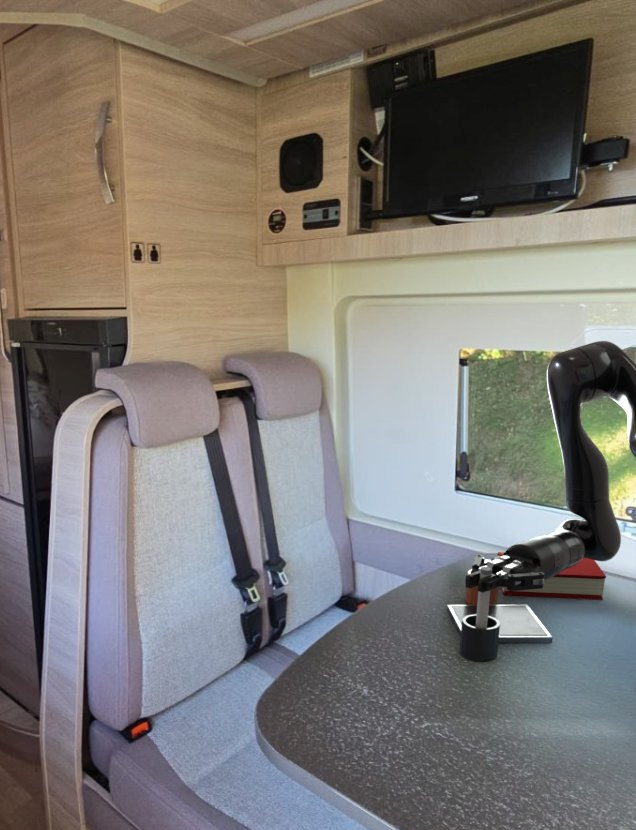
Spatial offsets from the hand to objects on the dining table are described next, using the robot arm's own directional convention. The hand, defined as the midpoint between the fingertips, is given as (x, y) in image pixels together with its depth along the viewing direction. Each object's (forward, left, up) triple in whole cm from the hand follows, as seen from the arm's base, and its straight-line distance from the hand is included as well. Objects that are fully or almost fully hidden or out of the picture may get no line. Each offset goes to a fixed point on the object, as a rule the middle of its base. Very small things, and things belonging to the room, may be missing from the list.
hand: (474, 584), depth 116 cm
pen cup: (-8, -24, -14) cm, 29 cm away
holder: (-2, -2, -14) cm, 14 cm away
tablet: (-8, -13, -14) cm, 21 cm away
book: (-23, -32, -14) cm, 42 cm away
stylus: (-2, -2, -11) cm, 11 cm away
